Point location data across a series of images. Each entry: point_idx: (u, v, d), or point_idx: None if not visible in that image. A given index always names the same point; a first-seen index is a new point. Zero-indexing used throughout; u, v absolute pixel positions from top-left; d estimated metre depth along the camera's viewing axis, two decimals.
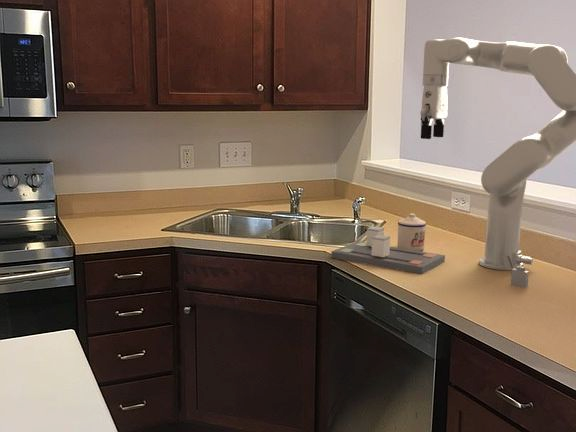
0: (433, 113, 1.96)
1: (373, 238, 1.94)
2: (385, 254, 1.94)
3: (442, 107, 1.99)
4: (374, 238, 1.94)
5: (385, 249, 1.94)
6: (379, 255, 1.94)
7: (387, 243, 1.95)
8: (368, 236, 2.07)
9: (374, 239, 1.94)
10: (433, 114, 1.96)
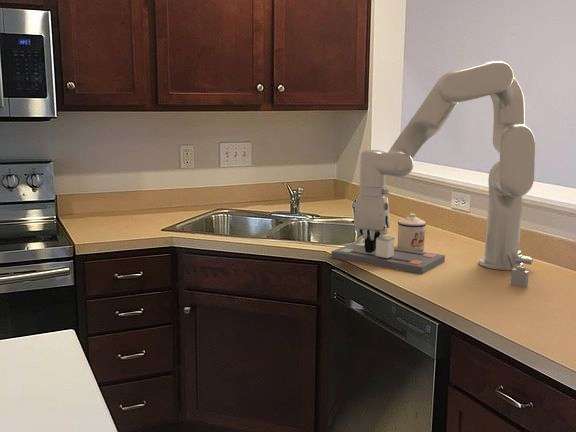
0: (389, 224, 1.95)
1: (377, 239, 1.94)
2: (389, 255, 1.94)
3: None
4: (378, 239, 1.94)
5: (390, 250, 1.94)
6: (383, 256, 1.93)
7: (391, 244, 1.94)
8: None
9: (378, 240, 1.94)
10: None
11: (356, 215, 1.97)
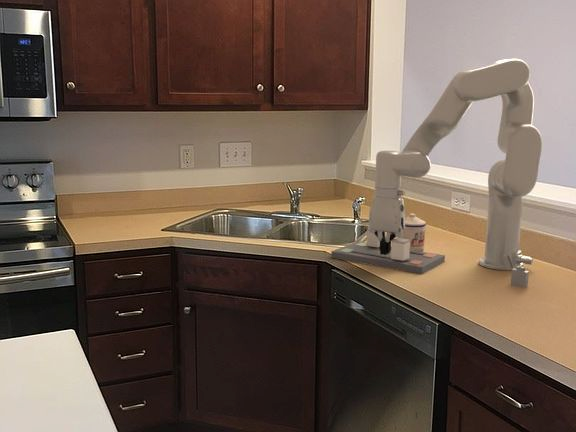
0: (404, 225, 1.93)
1: (393, 241, 1.91)
2: (405, 257, 1.91)
3: None
4: (394, 241, 1.91)
5: (405, 252, 1.91)
6: (399, 258, 1.91)
7: (407, 246, 1.91)
8: (368, 236, 2.07)
9: (394, 242, 1.91)
10: (404, 226, 1.93)
11: (371, 217, 1.94)
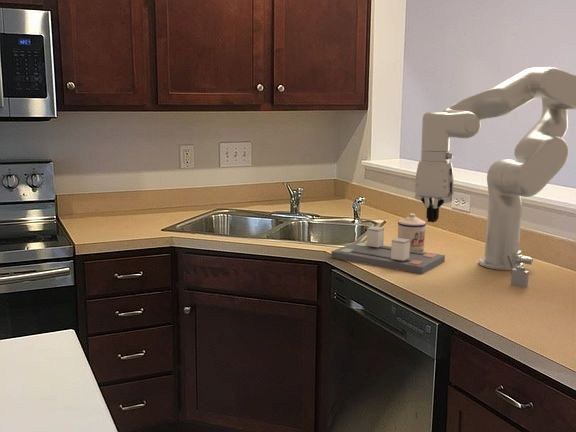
0: (453, 191, 1.83)
1: (393, 241, 1.91)
2: (405, 257, 1.91)
3: None
4: (394, 241, 1.91)
5: (405, 252, 1.91)
6: (399, 258, 1.91)
7: (407, 246, 1.91)
8: (368, 236, 2.07)
9: (394, 242, 1.91)
10: (453, 192, 1.83)
11: (417, 182, 1.84)
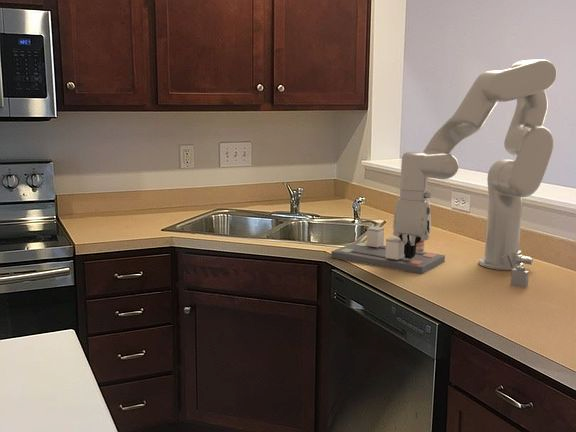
0: (430, 229, 1.88)
1: (387, 240, 1.92)
2: (399, 256, 1.92)
3: None
4: (388, 240, 1.92)
5: (400, 251, 1.92)
6: (393, 257, 1.92)
7: (401, 245, 1.92)
8: (368, 236, 2.07)
9: (388, 241, 1.92)
10: (430, 229, 1.88)
11: (396, 219, 1.89)
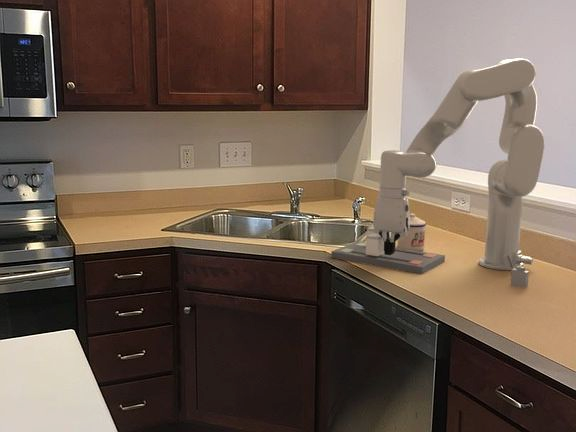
0: (409, 226, 1.92)
1: (367, 237, 1.96)
2: (379, 253, 1.96)
3: None
4: (368, 237, 1.95)
5: (380, 248, 1.95)
6: (373, 254, 1.95)
7: (381, 242, 1.96)
8: None
9: (368, 238, 1.95)
10: (409, 226, 1.92)
11: (375, 217, 1.93)
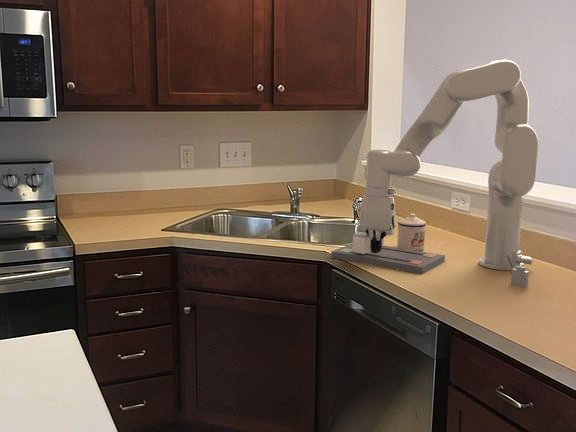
0: (395, 224, 1.94)
1: (354, 235, 1.98)
2: (366, 251, 1.98)
3: None
4: (355, 235, 1.98)
5: (366, 246, 1.98)
6: (360, 252, 1.98)
7: (367, 240, 1.98)
8: None
9: (355, 236, 1.98)
10: (395, 225, 1.94)
11: (362, 215, 1.95)
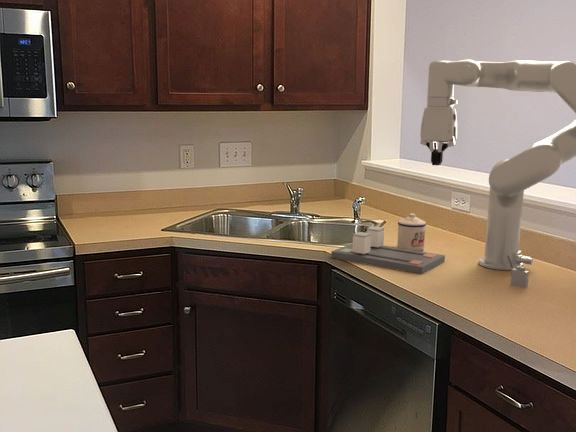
0: (456, 135, 1.95)
1: (354, 235, 1.98)
2: (366, 251, 1.98)
3: None
4: (355, 235, 1.98)
5: (366, 246, 1.98)
6: (360, 252, 1.98)
7: (367, 240, 1.98)
8: None
9: (355, 236, 1.98)
10: (456, 136, 1.95)
11: (423, 127, 1.96)
